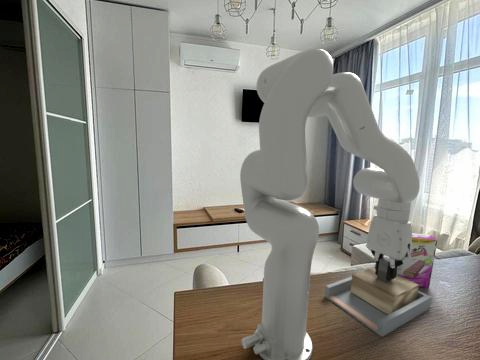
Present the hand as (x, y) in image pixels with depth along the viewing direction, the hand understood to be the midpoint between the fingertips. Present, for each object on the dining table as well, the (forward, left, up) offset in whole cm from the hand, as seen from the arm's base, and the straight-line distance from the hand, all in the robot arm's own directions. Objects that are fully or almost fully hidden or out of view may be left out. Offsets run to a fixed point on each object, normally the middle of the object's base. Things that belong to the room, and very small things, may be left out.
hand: (384, 275), depth 71 cm
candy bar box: (+16, +2, -8) cm, 18 cm away
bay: (-3, 0, -7) cm, 8 cm away
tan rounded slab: (0, 0, -7) cm, 7 cm away
